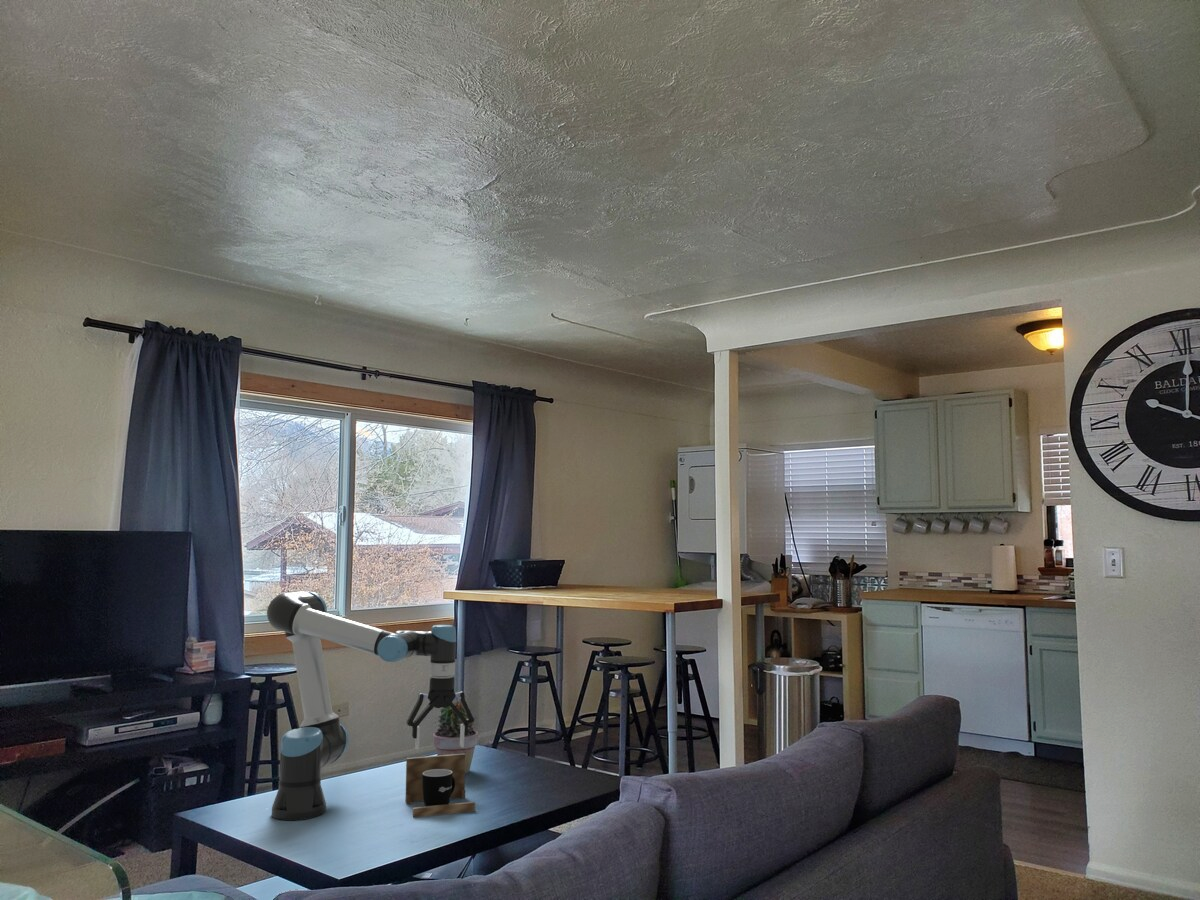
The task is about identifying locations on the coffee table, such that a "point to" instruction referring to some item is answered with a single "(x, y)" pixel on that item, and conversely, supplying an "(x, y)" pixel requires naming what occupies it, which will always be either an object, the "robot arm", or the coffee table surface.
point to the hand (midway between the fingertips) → (439, 748)
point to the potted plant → (454, 735)
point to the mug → (437, 786)
